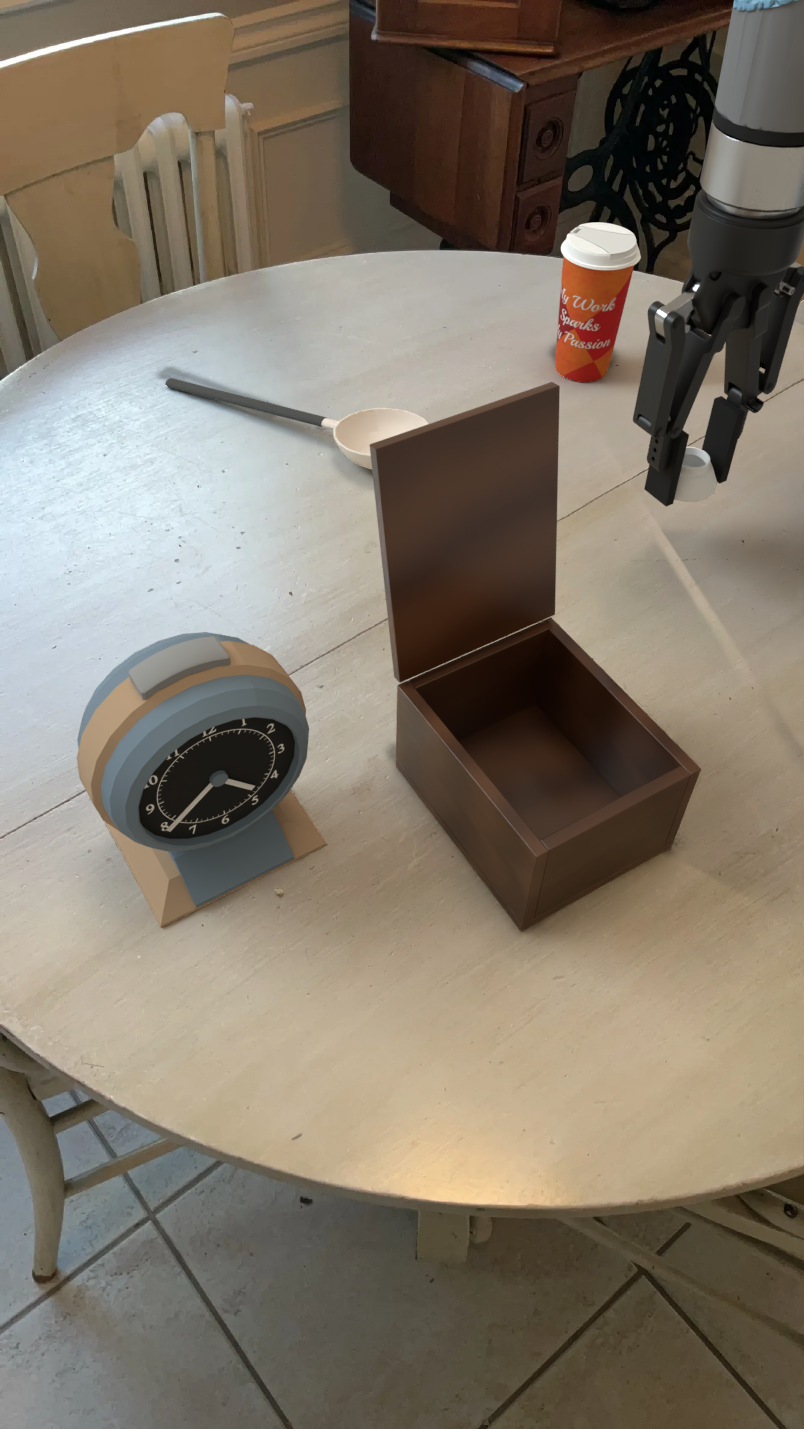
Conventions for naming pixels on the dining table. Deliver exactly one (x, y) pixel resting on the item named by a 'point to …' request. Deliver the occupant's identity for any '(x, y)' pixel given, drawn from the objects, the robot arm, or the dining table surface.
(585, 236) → the paper cup
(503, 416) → the box lid
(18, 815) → the dining table surface
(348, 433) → the ladle
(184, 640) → the alarm clock
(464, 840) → the keepsake box
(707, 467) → the lidless jar
